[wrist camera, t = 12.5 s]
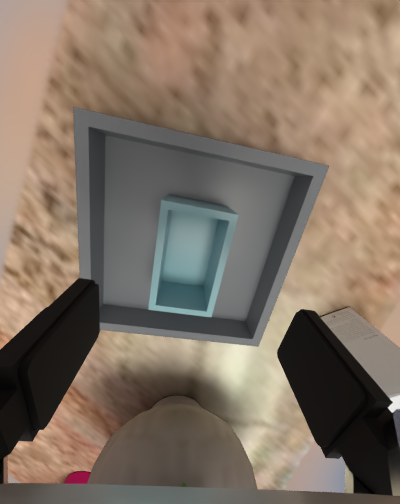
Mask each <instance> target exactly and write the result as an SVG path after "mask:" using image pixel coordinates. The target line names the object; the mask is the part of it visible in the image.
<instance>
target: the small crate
mask: <svg viewBox="0 0 400 504" xmlns="http://www.w3.org/2000/svg"><path fill="white" fill-rule="evenodd" d="M238 216H239V215H238V214H237V213H236V212H234V211H233V210H232V209H230V208H229V207H228V206H224V205H219V204H214V203H209V202H204V201H199V200H194V199H189V198H184V197H178V196H173V195H167V196H166V197H165V198H163V199H162V200H161V207H160V215H159V224H158V232H157V241H156V249H155V257H154V266H153V274H152V283H151V291H150V299H149V308H148V310H155V311H163V312H171V313H179V314H187V315H195V316H203V317H212V314H213V310H214V306H215V302H216V299H217V295H218V291H219V287H220V284H221V280H222V276H223V272H224V269H225V265H226V261H227V257H228V253H229V250H230V246H231V242H232V238H233V235H234V231H235V227H236V223H237V220H238Z"/></svg>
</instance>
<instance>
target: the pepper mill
mask: <svg viewBox="0 0 400 504" xmlns="http://www.w3.org/2000/svg"><path fill="white" fill-rule="evenodd" d="M90 474H91V473H89V472H75V473H72V474H70V475H69V476H68V477H67V479H66V481H65V483H64V484H87V482H88V480H89V477H90Z"/></svg>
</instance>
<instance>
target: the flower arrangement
mask: <svg viewBox="0 0 400 504" xmlns="http://www.w3.org/2000/svg"><path fill="white" fill-rule="evenodd" d="M87 484H105V485H139V486H172V487H202V488H230V489H257V485H256V481H255V477H254V473H253V468H252V465H251V463H250V461H249V459H248V457H247V454H246V452H245V450H244V448H243V446H242V444H241V442H240V440H239V438H238V437H237V435H236V434H235V432H234V431H233V429H232V428H231V426H230V425H229V424H227V423H226V422H224V421H223V420H222V419H220V418H219V417H218V416H216V415H214V414H213V413H211V412H209V411H207V410H205V409H203V408H201V406H200V405H199V404H198V402H197V401H195V400H194V399H192V398H190V397H186V396H181V395H178V396H169V397H166V398H163V399H161V400H159V401H158V402H157V403H156V404H155V405H154V406H153V407H152V409H150V410H147V411H144V412H141V413H140V414H138V415H137V416H135V417H134V418H132V419H131V420H130V421H128V422H127V423H126V424H124V425H123V426H122V427H121V428H120V429H118V430H117V431H116V432H115V433H113V434H112V435H111V436H110V438H109V440H108V441H107V443H106V445H105V446H104V448H103V450H102V451H101V453H100V455H99V457H98V458H97V460H96V462H95V463H94V466H93V468H92V471H91V474H90V477H89V480H88V482H87Z"/></svg>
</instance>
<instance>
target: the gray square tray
mask: <svg viewBox="0 0 400 504" xmlns="http://www.w3.org/2000/svg"><path fill="white" fill-rule="evenodd" d="M73 113H74V139H75V165H76V191H77V217H78V243H79V269H80V278H83V279H91V280H94V281H95V284H98V285H99V313H100V330H107V331H116V332H126V333H135V334H145V335H154V336H164V337H173V338H183V339H192V340H202V341H211V342H221V343H230V344H240V345H249V346H259V344H260V341H261V338H262V336H263V333H264V331H265V328H266V326H267V323H268V321H269V318H270V316H271V313H272V310H273V308H274V305H275V303H276V300H277V298H278V295H279V293H280V290H281V288H282V285H283V282H284V280H285V277H286V275H287V272H288V270H289V267H290V265H291V262H292V259H293V257H294V254H295V252H296V249H297V247H298V244H299V242H300V239H301V237H302V234H303V231H304V229H305V226H306V224H307V221H308V219H309V216H310V214H311V211H312V209H313V206H314V203H315V201H316V198H317V196H318V193H319V191H320V188H321V186H322V183H323V181H324V178H325V175H326V173H327V170H328V168H329V166H328V165H324V164H320V163H315V162H311V161H307V160H302V159H298V158H294V157H289V156H285V155H280V154H276V153H272V152H267V151H263V150H259V149H254V148H250V147H246V146H241V145H237V144H233V143H228V142H224V141H219V140H215V139H211V138H206V137H202V136H198V135H193V134H189V133H185V132H180V131H176V130H171V129H167V128H163V127H158V126H154V125H150V124H145V123H141V122H137V121H132V120H128V119H123V118H119V117H115V116H110V115H106V114H102V113H97V112H93V111H89V110H84V109H80V108H75V107H73ZM167 195H173V196H178V197H184V198H189V199H194V200H199V201H204V202H209V203H214V204H219V205H224V206H228V207H229V208H230V209H232V210H233V211H234V212H236V213H237V214H238V215H239V216H238V220H237V223H236V227H235V231H234V235H233V238H232V242H231V246H230V250H229V253H228V257H227V261H226V265H225V269H224V272H223V276H222V280H221V284H220V287H219V291H218V295H217V299H216V302H215V306H214V310H213V314H212V317H203V316H195V315H187V314H179V313H171V312H163V311H155V310H148V308H149V299H150V291H151V283H152V274H153V266H154V257H155V249H156V241H157V232H158V224H159V215H160V207H161V200H162V199H163V198H165V197H166V196H167Z"/></svg>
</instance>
